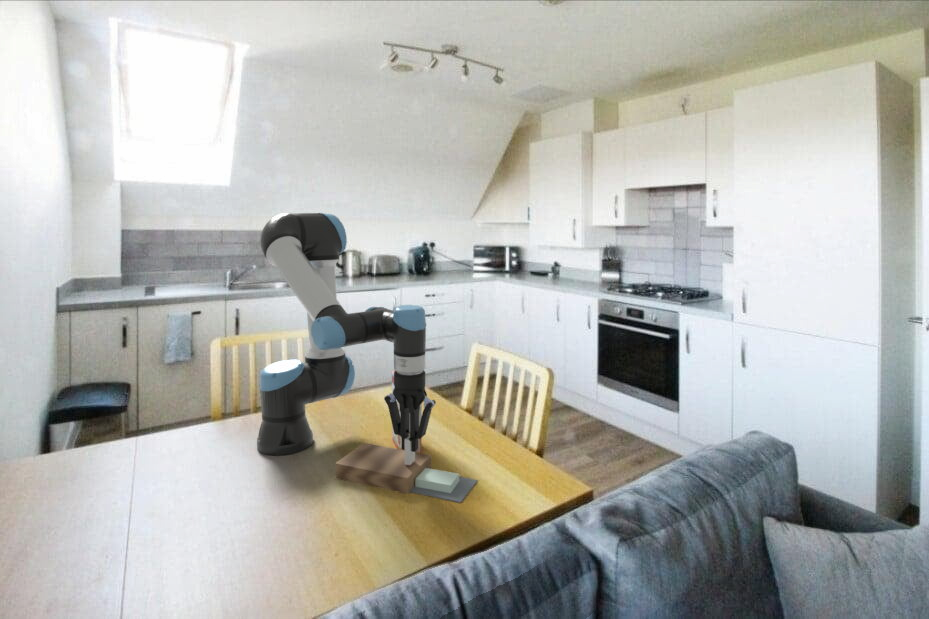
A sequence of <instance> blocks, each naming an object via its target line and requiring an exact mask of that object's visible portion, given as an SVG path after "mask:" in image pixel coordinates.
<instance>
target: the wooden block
mask: <svg viewBox="0 0 929 619" xmlns="http://www.w3.org/2000/svg"><path fill="white" fill-rule="evenodd" d="M334 467H335V479H338V480H341V481H342V480H343V481H347V482H350V483H355V484H361V485H365V486H369V487H373V488H378V489H382V490H387V491H392V492H397V493H401V494H405V495H409V494H410V493H411V492H410V490H411V489H412V488H413V487H414V486H415V479H416V478H417V477H418V475H419V474H420V473H421V472H422V471H423V470H424V469H425V468H429V469H432V454H427V453H422V454H421V453H416V452H415V461H414V462H413V463H412V464H411V465H406V464H405V450H400V449H397V448H394V447H390V446H389V447H388V446H383V445H378V444H372V443H367V442H363V443H362V444H360V445H359V446H357V447H356V448H354V449H353V450H351V451H350V452H349V453H347V454H346V455H345V456H343V457H341V458H340V459H339V460H337V461H336V462H335V466H334Z"/></svg>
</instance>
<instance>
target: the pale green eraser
mask: <svg viewBox="0 0 929 619" xmlns="http://www.w3.org/2000/svg"><path fill="white" fill-rule="evenodd" d="M459 476H460V473H457V472H451V471H447V470H442V469H441V470H440V469H435V468H434V469H433V468H431V469H429V468H425V469H424V470H423V471H422V472H421V473H420V474H419V475H418V477H417V478H416V479H415V487H420V488H426V489H431V490H436V491H441V492H447V493H451V492H452V491H453V489H454V488H455V487H456V485H457V484H458V482H459Z"/></svg>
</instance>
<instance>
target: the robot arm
mask: <svg viewBox="0 0 929 619" xmlns="http://www.w3.org/2000/svg"><path fill="white" fill-rule="evenodd" d="M347 237H348V236H347V231H346V229H345V226H344V224H343V222H342V221H341V220H340V218H339V217H338V216H336V215H335V214H332V213H326V212H325V213H322V212H317V213H316V212H313V213H311V212H304V213H303V212H302V213H301V212H300V213H299V212H298V213H297V212H296V213H292V212H284V213H279V214H277V215H275V216H273V217H272V218H270V219H269V220H268V222H266V224H264V227H263V228H262V231H261V234H260V248H261V251H262V252H261V253H263V256H264V257H265V259H266V260H267V262H268V263H269V264H270V265H272V266H273V267H276V268H277V269H278V271H279V273H280V274H281V275H282V277H283V279H284V280H285V282H286V283H287V284H288V286H289V288H291V290H292V292H293V294H295V296H296V298H297V300H298V301H299V302H300V304H301V305H302V307H303V309H304V310H305V311H306V316H307V317H306V318H307V332H308V343H309V344H308V346H309V349H308V351H307V352H306V353H305V354H304V363H303V361H302V360H300V359H296V358H295V359H293V358H291V359H282V360H278V361H276V362H273V363H270V364H268V365H266V366H265V367H264V368H262V370H261V371H260V373H259V385H258V387H259V393H260V406H261V424H260V428H259V431H258V436H257V438H256V448H257V450H258V451H259V452H260V453H262V454H265V455H270V456H284V455H285V456H286V455H291V454H295V453H299V452H301V451H303V450H305V449H308V448H309V447H311V445H312V444H313V443H314V433H313V431H312V429H311V427H310V424H309V421H308V418H307V415H306V405H308V404H312V403H315V402H316V403H317V402H321V401H323V400H324V401H325V400H328V399H331V398H333V399H334V398H337V397H339V396H342V395H345V394H347V393H349V391H351V389H352V387H353V386H354V382H355V378H356V377H355V375H356V373H355V371H356V369H355V365H354V364H353V361H352V359H351V357H350V356H348V355H346V351H345V349H343V348H345V347H352V346H356V345H361V344H368V343H372V342H377V341H387V342H389V343H393V369H394V371H395V372H394V386H395V388H394V390H393V393H392V392H391V393H389V394H387V395H385V396H384V401H385V403H386V405H387V408H388V412H389V415H390V420H391V425H392V426H393V430H394V434H396V435H400V436H401V438H402V450H405V464H406V465H411V464H412V463H413V462H414V461H415V451H417V449H418V439H421V438H422V439H423V437H424V436H426V433H427V430H428V426H429V422H430V418H431V414H432V409H433V408H434V407H435V405H436V400H434V399H431V398H429V397H428V395H427V391H426V371H425V369H426V342H427V341H426V340H427V339H426V337H427V335H426V331H427V320H426V310H425V308H424V307H422V306H419V305H415V304H414V305H413V304H404V305H397V306H395V307H394V309H388V308H386V307H382V306H379V307H378V306H371V307H369V308H367V309H366V310H365V311H358V312H352V313H351V312H350V313H347V311H346V310H345V309H344V308H343V306H342V305H341V303H340V302H339V300H338V299H337V286H336V285H337V284H336V270H335V268H336V267H335V266H336V264H338V262H339V261H340V254H342V253H344V251H345V250H346V246H347V239H348V238H347ZM396 400H397V401H398V403H399V405H400V412H401V418H400V414H399V409H398V405H397V401H396ZM421 404H423V409H422V417H421V421H420V425H419V410H420V405H421ZM409 413H410V431H409ZM409 434H410V435H409Z"/></svg>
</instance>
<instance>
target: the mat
mask: <svg viewBox="0 0 929 619" xmlns="http://www.w3.org/2000/svg"><path fill="white" fill-rule="evenodd" d="M477 483H478V479H474V478H468V477H465V476H460V475H459V482H458V484H457V485H456V487H455V488H454V489H453V491H452V492H451V493H447V492H441V491H436V490H431V489H426V488H420V487H415V486H414V487H413V488H412V489H411V490H410V492H409V493H413V494H417V495H421V496H426V497H431V498H436V499H439V500H446V501H448V502H449V501H450V502H453V503H454V502H455V503H457V504H458V503H459V504H462V503H463V501H464V500H465V498H466V497H467V496H468V494H469V493H470V492H471V490H472V489H473V488H474V487H475V486H476V484H477Z"/></svg>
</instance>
